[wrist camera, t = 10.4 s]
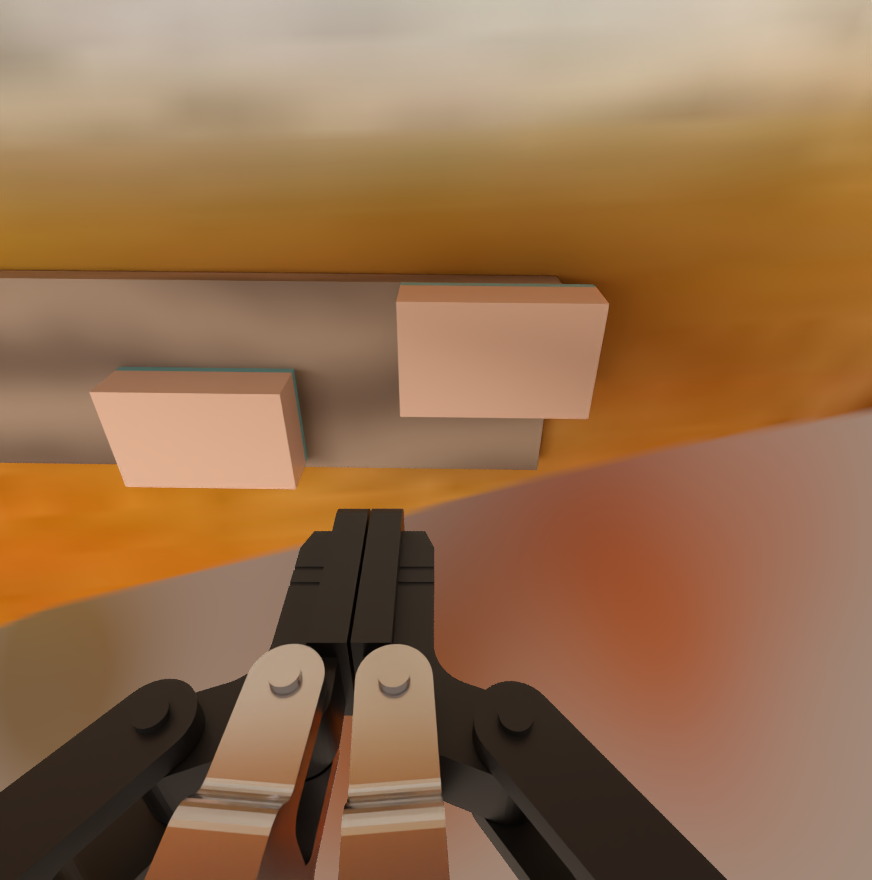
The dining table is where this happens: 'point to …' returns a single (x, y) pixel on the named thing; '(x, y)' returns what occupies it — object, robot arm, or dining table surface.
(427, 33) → the dining table surface
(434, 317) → the tile
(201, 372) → the tile
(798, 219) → the dining table surface
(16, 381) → the board
